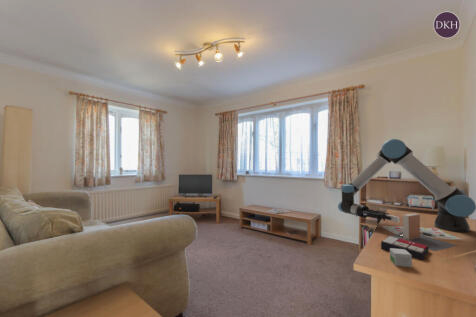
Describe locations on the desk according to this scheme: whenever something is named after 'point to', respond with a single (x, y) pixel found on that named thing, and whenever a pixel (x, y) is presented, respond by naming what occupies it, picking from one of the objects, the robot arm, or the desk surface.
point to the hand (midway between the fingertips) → (398, 219)
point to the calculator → (405, 247)
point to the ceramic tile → (411, 226)
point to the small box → (400, 257)
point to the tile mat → (428, 242)
